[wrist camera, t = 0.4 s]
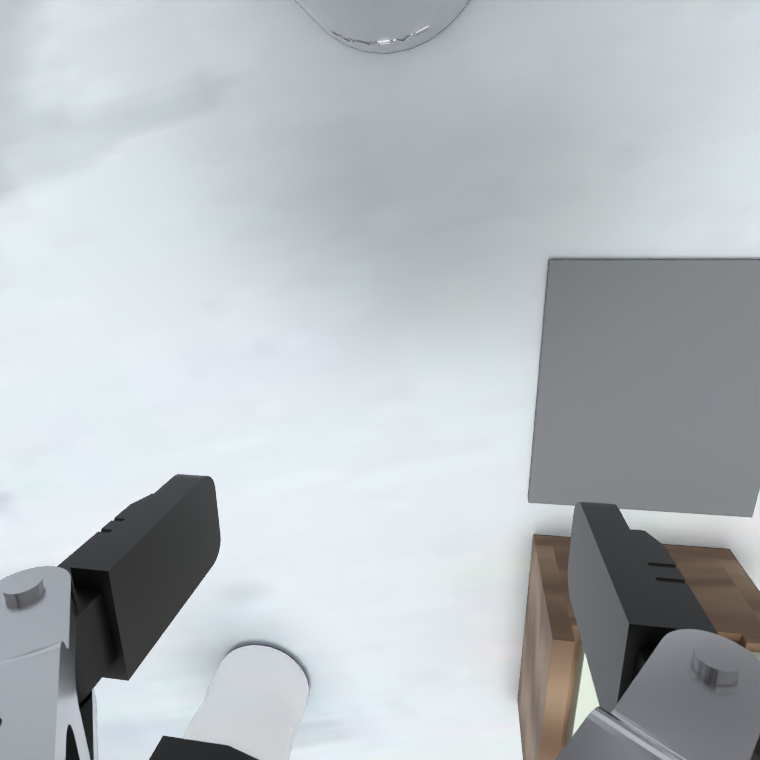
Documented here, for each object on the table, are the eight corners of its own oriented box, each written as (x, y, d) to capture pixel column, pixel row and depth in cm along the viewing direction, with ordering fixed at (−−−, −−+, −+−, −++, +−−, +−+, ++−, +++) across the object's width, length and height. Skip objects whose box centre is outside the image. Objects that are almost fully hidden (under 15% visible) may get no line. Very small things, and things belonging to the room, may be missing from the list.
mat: (548, 259, 27) (549, 260, 26) (814, 259, 25) (819, 260, 24) (527, 498, 32) (528, 502, 31) (748, 513, 30) (751, 517, 29)
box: (533, 534, 32) (552, 639, 25) (729, 549, 31) (813, 666, 23) (517, 701, 37) (530, 831, 30) (686, 722, 35) (743, 864, 28)
